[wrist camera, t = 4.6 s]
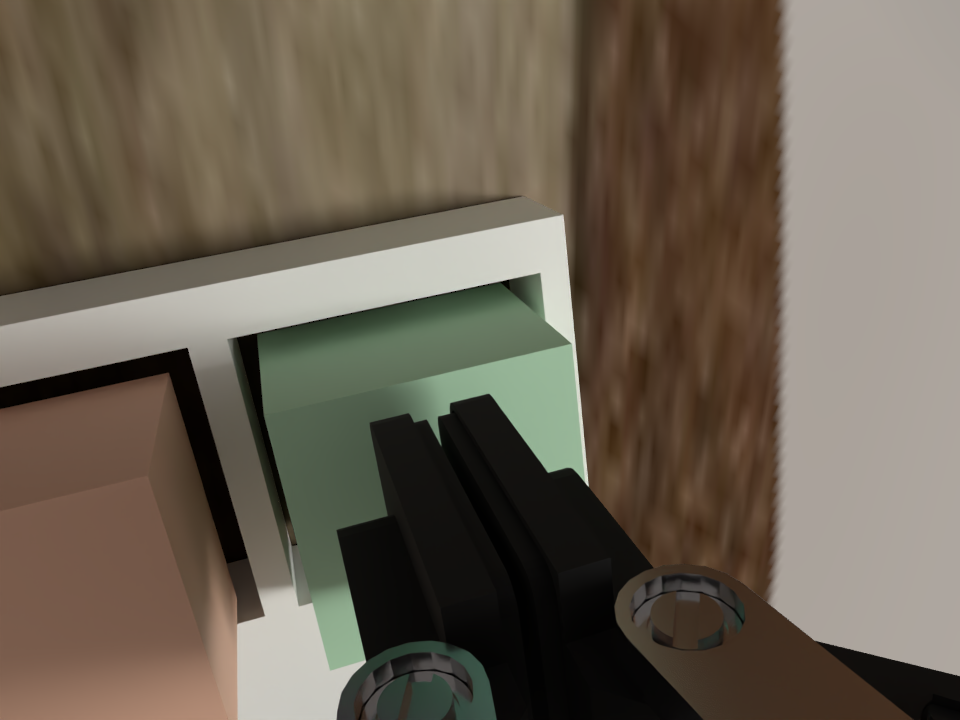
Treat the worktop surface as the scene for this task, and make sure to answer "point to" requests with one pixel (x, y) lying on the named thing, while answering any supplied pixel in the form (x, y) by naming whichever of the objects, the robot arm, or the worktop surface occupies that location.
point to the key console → (226, 392)
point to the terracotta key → (110, 563)
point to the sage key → (399, 413)
